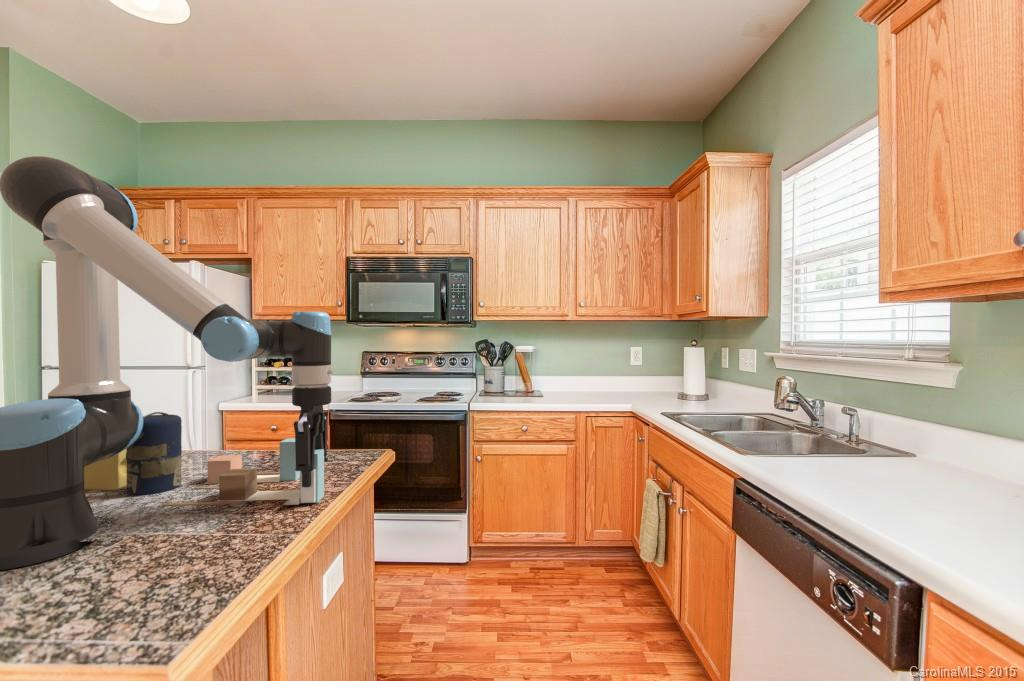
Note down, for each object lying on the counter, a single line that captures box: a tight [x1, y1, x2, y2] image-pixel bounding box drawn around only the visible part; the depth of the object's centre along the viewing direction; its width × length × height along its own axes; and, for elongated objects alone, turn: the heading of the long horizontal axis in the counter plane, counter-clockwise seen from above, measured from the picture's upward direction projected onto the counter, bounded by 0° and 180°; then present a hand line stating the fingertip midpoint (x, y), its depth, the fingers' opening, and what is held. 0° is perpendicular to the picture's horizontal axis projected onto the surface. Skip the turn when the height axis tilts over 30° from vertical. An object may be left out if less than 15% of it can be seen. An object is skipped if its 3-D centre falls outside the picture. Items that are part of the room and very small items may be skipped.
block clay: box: [206, 454, 243, 483], centre depth 106 cm, size 5×5×5 cm
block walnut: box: [218, 467, 258, 501], centre depth 94 cm, size 5×5×5 cm
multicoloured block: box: [216, 449, 325, 506], centre depth 95 cm, size 6×20×10 cm, turn 94°
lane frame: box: [162, 471, 280, 507], centre depth 100 cm, size 21×14×2 cm, turn 4°
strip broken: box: [204, 437, 300, 485], centre depth 106 cm, size 6×20×10 cm, turn 94°
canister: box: [126, 411, 183, 497], centre depth 100 cm, size 10×10×18 cm
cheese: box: [84, 449, 127, 491], centre depth 108 cm, size 10×11×10 cm
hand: (312, 497), depth 96 cm, fingers closed on multicoloured block, 4 cm apart
